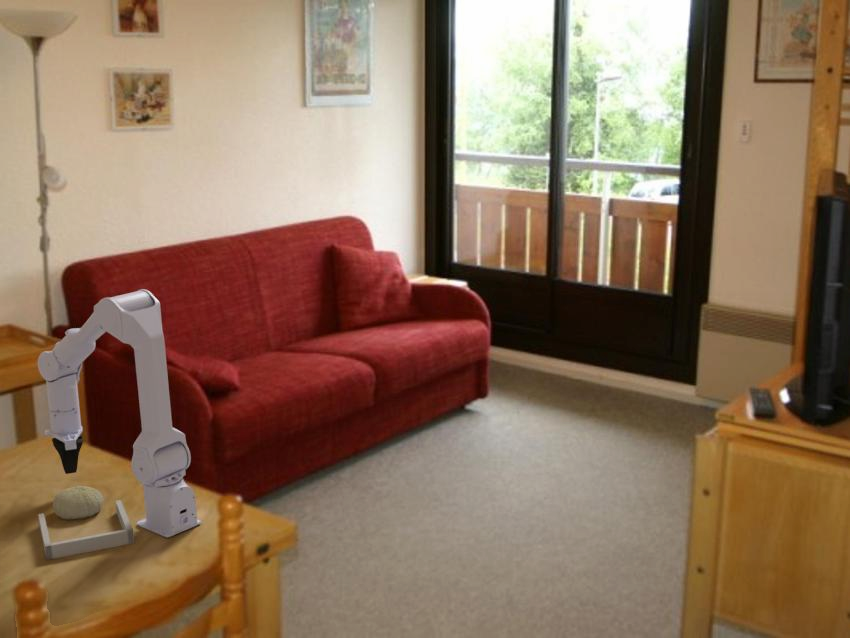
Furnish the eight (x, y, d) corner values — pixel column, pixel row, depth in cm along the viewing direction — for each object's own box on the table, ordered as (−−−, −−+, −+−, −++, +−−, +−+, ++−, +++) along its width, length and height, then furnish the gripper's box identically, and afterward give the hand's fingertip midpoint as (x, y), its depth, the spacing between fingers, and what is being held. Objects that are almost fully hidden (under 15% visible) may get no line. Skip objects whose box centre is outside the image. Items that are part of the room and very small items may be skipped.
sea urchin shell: (99, 512, 198) (66, 485, 197) (72, 540, 200) (40, 513, 198) (114, 493, 207) (82, 466, 206) (88, 520, 209) (57, 493, 207)
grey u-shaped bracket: (134, 543, 190) (133, 530, 189) (46, 559, 184) (45, 546, 183) (121, 511, 203) (120, 499, 202) (39, 526, 197) (38, 514, 196)
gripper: (39, 400, 213) (46, 463, 216) (46, 421, 200) (53, 488, 203) (76, 395, 216) (82, 457, 219) (84, 416, 203) (91, 482, 206)
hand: (70, 472), depth 211 cm, fingers closed
